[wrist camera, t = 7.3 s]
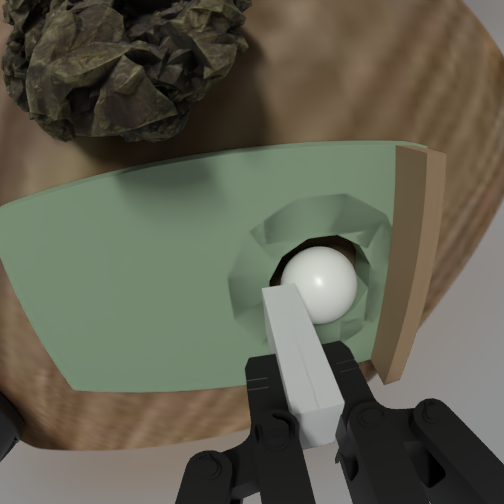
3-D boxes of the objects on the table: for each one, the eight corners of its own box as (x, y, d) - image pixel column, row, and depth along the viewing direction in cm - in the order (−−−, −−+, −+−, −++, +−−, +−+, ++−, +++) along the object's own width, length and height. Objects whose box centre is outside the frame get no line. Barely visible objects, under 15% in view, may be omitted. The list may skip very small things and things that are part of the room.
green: (80, 371, 19) (64, 415, 15) (5, 204, 13) (-40, 232, 9) (384, 334, 20) (410, 375, 16) (406, 141, 14) (459, 154, 10)
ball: (267, 315, 16) (320, 351, 13) (261, 251, 14) (323, 282, 11) (316, 287, 18) (367, 313, 15) (316, 228, 16) (375, 248, 13)
